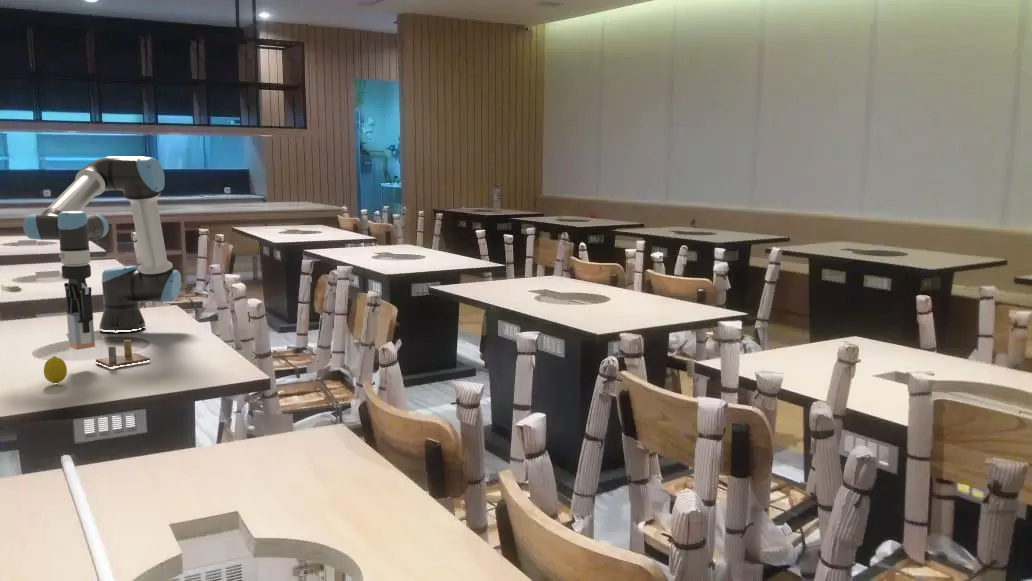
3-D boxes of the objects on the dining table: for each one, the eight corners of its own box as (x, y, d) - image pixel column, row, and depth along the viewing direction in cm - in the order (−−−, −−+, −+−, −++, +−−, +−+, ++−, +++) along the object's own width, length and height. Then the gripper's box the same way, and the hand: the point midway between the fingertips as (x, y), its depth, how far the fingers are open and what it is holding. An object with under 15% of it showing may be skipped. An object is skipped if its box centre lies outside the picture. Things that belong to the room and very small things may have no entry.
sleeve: (87, 343, 245) (85, 311, 243) (95, 346, 242) (92, 313, 240) (69, 346, 241) (66, 313, 240) (76, 349, 238) (73, 316, 236)
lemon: (44, 388, 221) (42, 359, 220) (45, 383, 226) (43, 355, 225) (67, 385, 224) (65, 357, 222) (68, 381, 228) (66, 353, 227)
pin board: (135, 357, 257) (134, 337, 256) (150, 362, 250) (149, 342, 249) (96, 364, 248) (94, 343, 247) (110, 369, 241) (108, 348, 240)
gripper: (50, 262, 240) (56, 338, 244) (74, 269, 229) (81, 349, 233) (76, 259, 246) (82, 334, 250) (102, 266, 234) (108, 344, 238)
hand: (81, 341), depth 241 cm, fingers closed on sleeve, 5 cm apart
